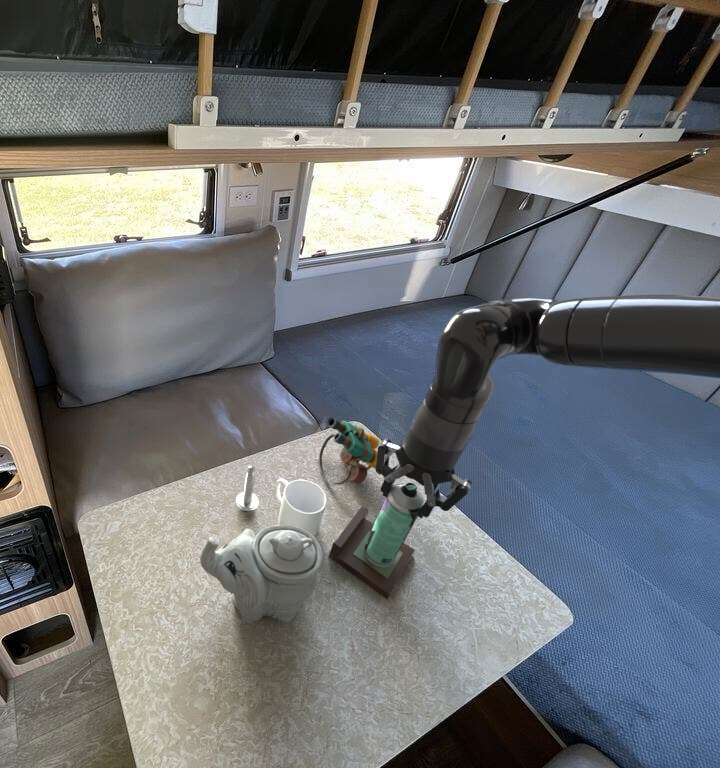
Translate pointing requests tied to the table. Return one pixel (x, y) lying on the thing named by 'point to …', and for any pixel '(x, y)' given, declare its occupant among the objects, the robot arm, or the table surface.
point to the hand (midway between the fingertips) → (403, 503)
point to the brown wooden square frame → (353, 558)
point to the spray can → (393, 524)
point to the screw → (248, 493)
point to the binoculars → (352, 450)
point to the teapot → (266, 570)
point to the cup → (301, 504)
